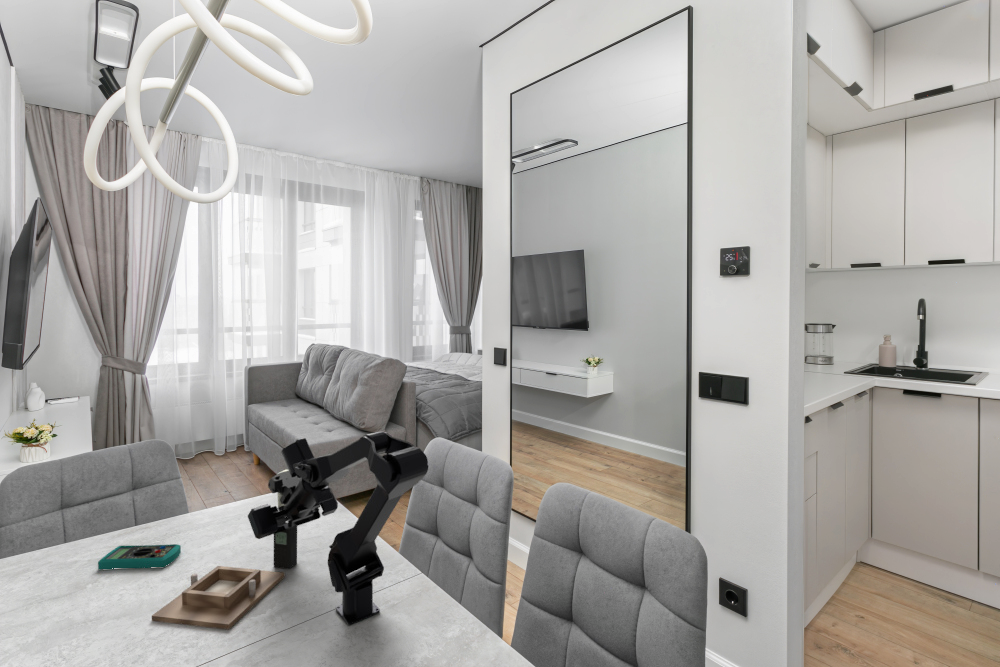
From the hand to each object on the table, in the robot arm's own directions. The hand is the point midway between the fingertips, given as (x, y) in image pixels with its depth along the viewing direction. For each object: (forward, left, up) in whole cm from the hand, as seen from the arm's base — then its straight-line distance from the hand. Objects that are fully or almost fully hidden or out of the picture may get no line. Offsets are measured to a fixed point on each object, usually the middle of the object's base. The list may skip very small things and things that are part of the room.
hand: (282, 528), depth 115 cm
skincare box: (+34, -12, -8) cm, 37 cm away
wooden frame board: (-6, +14, -8) cm, 17 cm away
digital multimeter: (+22, +25, -9) cm, 34 cm away
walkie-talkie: (-1, 0, -8) cm, 8 cm away
